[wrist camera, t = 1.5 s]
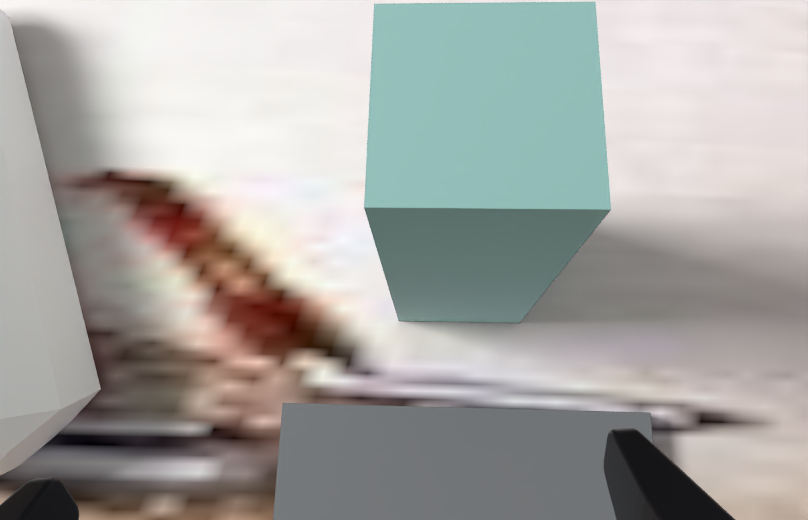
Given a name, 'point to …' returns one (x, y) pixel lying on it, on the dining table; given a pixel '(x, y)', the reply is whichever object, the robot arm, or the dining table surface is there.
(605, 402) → the dining table surface
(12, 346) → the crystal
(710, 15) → the dining table surface
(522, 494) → the rubber mat
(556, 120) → the teal block
